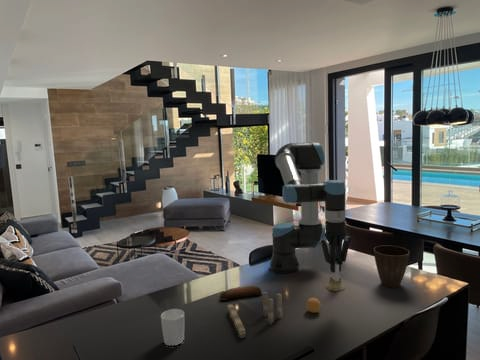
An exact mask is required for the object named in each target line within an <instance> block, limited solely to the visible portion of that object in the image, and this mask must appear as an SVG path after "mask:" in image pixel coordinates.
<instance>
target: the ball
mask: <svg viewBox="0 0 480 360" xmlns="http://www.w3.org/2000/svg"><path fill="white" fill-rule="evenodd" d="M321 306H322V304H321V301H320V300H319V299H318V298H316V297H310V298H308V300H307V301H306V309H307V310H308V311H309V312H310V313H313V314H314V313H315V314H316V313H318V312H319V311H320V309H321Z"/></svg>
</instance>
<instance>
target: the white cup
mask: <svg viewBox="0 0 480 360" xmlns="http://www.w3.org/2000/svg"><path fill="white" fill-rule="evenodd" d="M160 320H161V321H160V322H161V330H162V336H163V343H165V344H166V345H169V346H170V345H172V346H173V345H178V344H180V343H182V342H183V340H184V341H185V312H184V310H183V309H180V308H172V309H168V310H165V311H163V312H162V313H161V314H160ZM183 343H184V342H183ZM183 343H182V344H183ZM165 344H164V345H165ZM166 345H165V346H166Z"/></svg>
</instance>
